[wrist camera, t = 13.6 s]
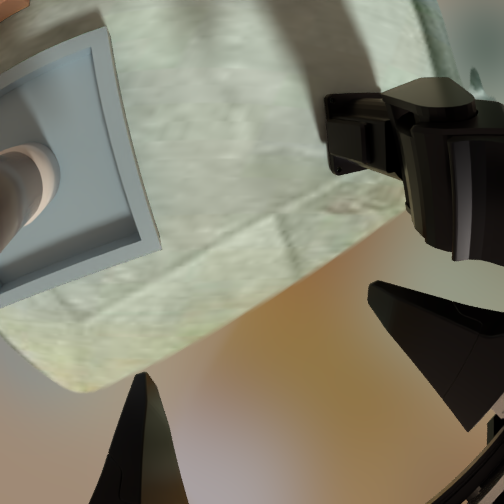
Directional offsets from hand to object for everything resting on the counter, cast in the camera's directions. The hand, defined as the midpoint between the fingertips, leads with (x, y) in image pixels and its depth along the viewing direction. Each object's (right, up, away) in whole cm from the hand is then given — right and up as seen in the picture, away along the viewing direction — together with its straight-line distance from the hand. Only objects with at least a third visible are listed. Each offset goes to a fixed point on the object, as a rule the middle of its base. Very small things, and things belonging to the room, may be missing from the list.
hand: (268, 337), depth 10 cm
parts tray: (-15, +8, +4) cm, 17 cm away
